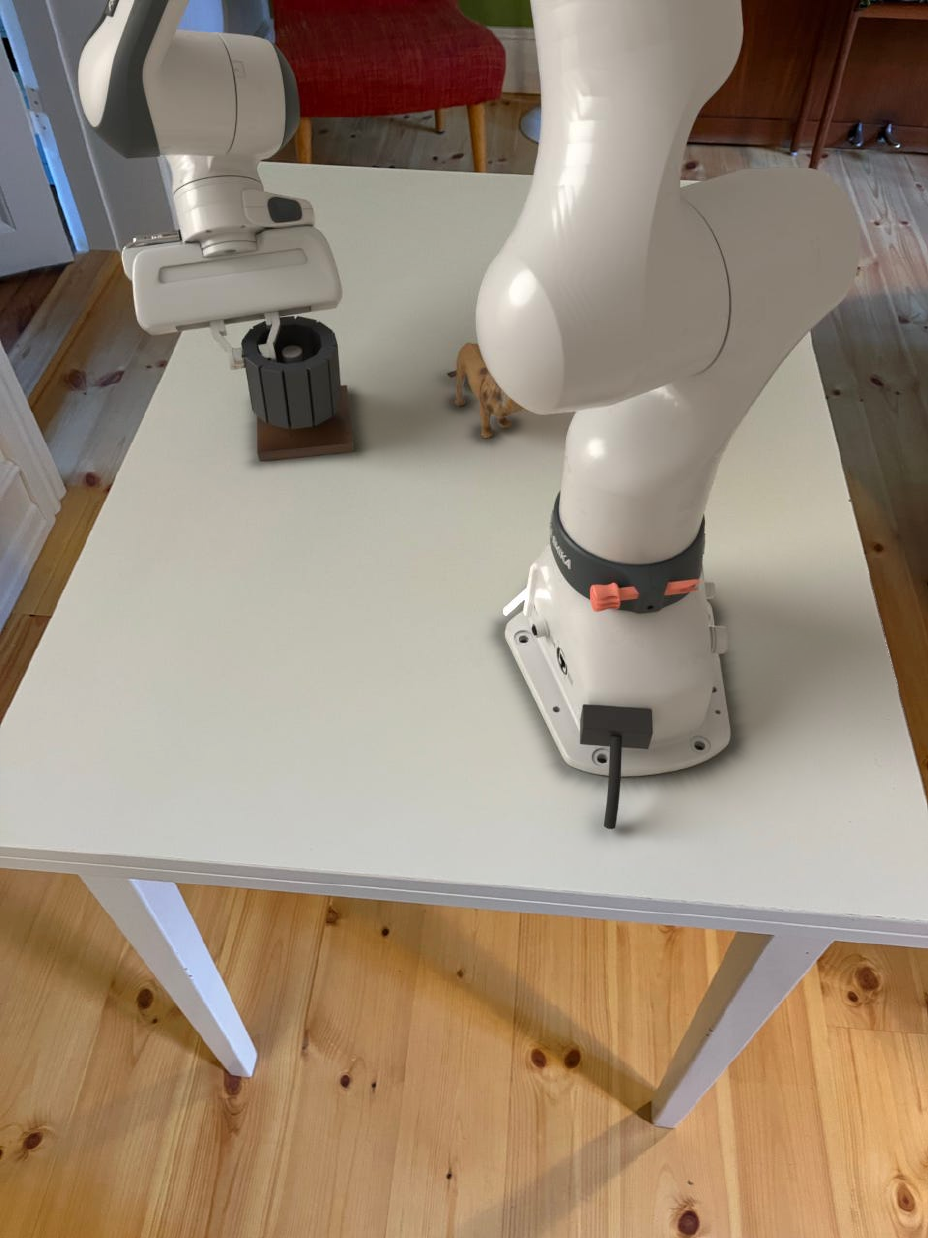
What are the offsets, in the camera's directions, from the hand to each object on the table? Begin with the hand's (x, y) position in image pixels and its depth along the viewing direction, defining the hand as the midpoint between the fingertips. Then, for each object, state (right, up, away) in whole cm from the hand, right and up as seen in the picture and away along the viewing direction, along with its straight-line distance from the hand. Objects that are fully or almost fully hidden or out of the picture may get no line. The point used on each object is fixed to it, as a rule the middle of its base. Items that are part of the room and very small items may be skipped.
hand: (254, 365), depth 93 cm
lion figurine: (+24, -3, +9) cm, 26 cm away
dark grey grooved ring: (+3, -2, +5) cm, 7 cm away
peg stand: (+4, -4, +8) cm, 10 cm away
